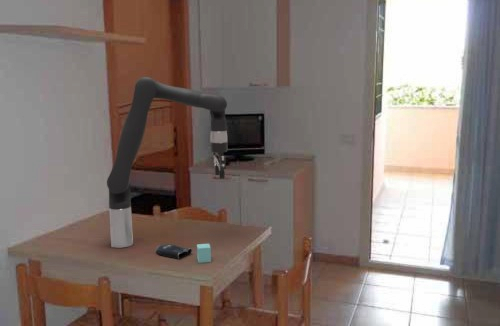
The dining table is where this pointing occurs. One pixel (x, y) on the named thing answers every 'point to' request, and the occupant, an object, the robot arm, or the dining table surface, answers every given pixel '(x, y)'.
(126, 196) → the robot arm
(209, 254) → the teal block
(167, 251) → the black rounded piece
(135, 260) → the dining table surface
